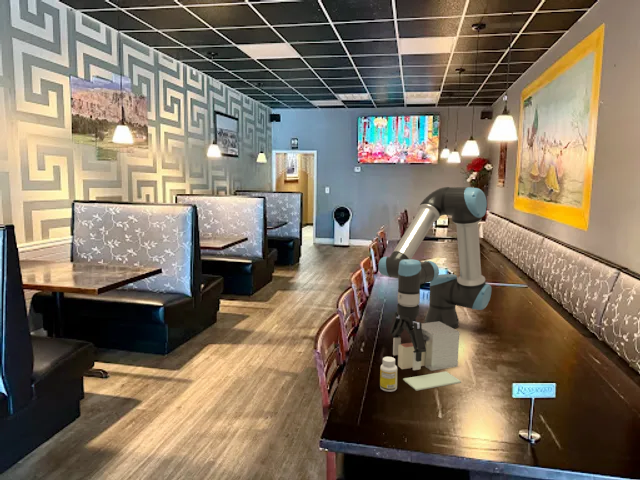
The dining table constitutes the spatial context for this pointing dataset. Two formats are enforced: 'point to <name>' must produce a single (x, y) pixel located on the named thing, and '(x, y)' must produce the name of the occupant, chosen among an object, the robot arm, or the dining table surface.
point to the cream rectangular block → (408, 356)
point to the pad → (431, 380)
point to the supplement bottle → (388, 374)
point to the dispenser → (440, 345)
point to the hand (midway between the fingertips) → (406, 361)
